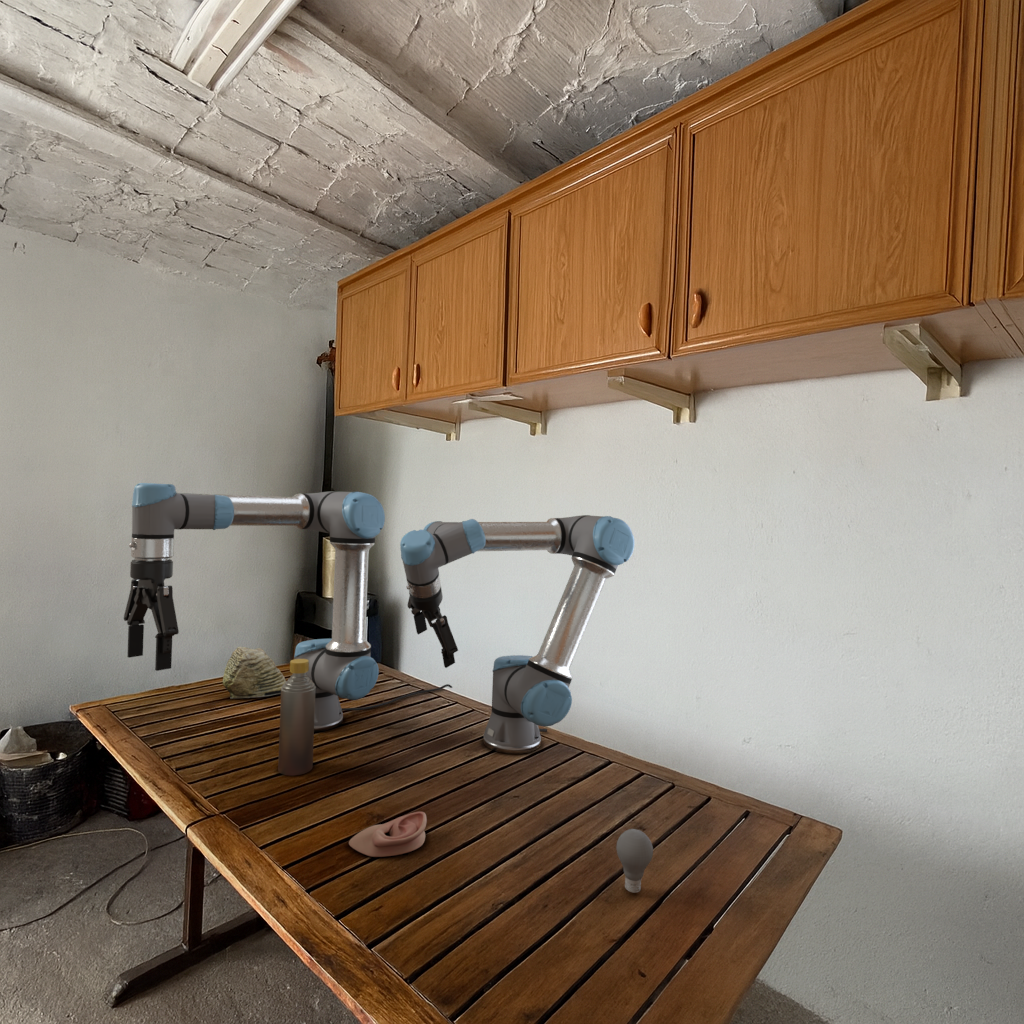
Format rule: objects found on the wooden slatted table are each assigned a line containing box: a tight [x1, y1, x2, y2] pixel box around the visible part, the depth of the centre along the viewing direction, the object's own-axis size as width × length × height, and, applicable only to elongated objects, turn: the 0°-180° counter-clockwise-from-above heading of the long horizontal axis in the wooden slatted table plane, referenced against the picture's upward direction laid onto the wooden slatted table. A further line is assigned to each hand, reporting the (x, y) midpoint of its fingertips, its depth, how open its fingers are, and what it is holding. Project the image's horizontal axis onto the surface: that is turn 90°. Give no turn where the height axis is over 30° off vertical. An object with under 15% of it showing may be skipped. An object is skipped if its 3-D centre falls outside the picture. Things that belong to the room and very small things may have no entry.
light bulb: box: [615, 828, 654, 894], centre depth 106 cm, size 6×6×10 cm
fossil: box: [222, 646, 287, 699], centre depth 198 cm, size 9×18×15 cm, turn 132°
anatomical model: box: [348, 811, 428, 858], centre depth 117 cm, size 13×4×12 cm
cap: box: [289, 658, 309, 674], centre depth 146 cm, size 4×4×2 cm
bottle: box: [277, 673, 316, 776], centre depth 147 cm, size 8×8×25 cm
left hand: (148, 662), depth 129 cm, fingers open, 13 cm apart
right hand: (435, 647), depth 161 cm, fingers open, 13 cm apart
